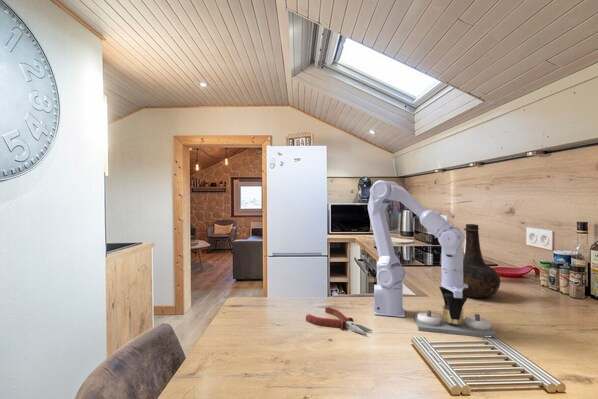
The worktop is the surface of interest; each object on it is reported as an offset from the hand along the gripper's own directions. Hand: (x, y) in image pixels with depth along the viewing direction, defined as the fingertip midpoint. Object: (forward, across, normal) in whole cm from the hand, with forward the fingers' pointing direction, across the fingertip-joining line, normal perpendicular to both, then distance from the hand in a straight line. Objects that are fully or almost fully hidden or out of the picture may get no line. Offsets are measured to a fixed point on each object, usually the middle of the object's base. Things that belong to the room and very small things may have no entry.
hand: (452, 315), depth 89 cm
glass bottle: (+4, +36, -15) cm, 39 cm away
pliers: (+4, -7, +34) cm, 35 cm away
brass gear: (+1, 0, 0) cm, 1 cm away
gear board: (+3, 0, 0) cm, 3 cm away
